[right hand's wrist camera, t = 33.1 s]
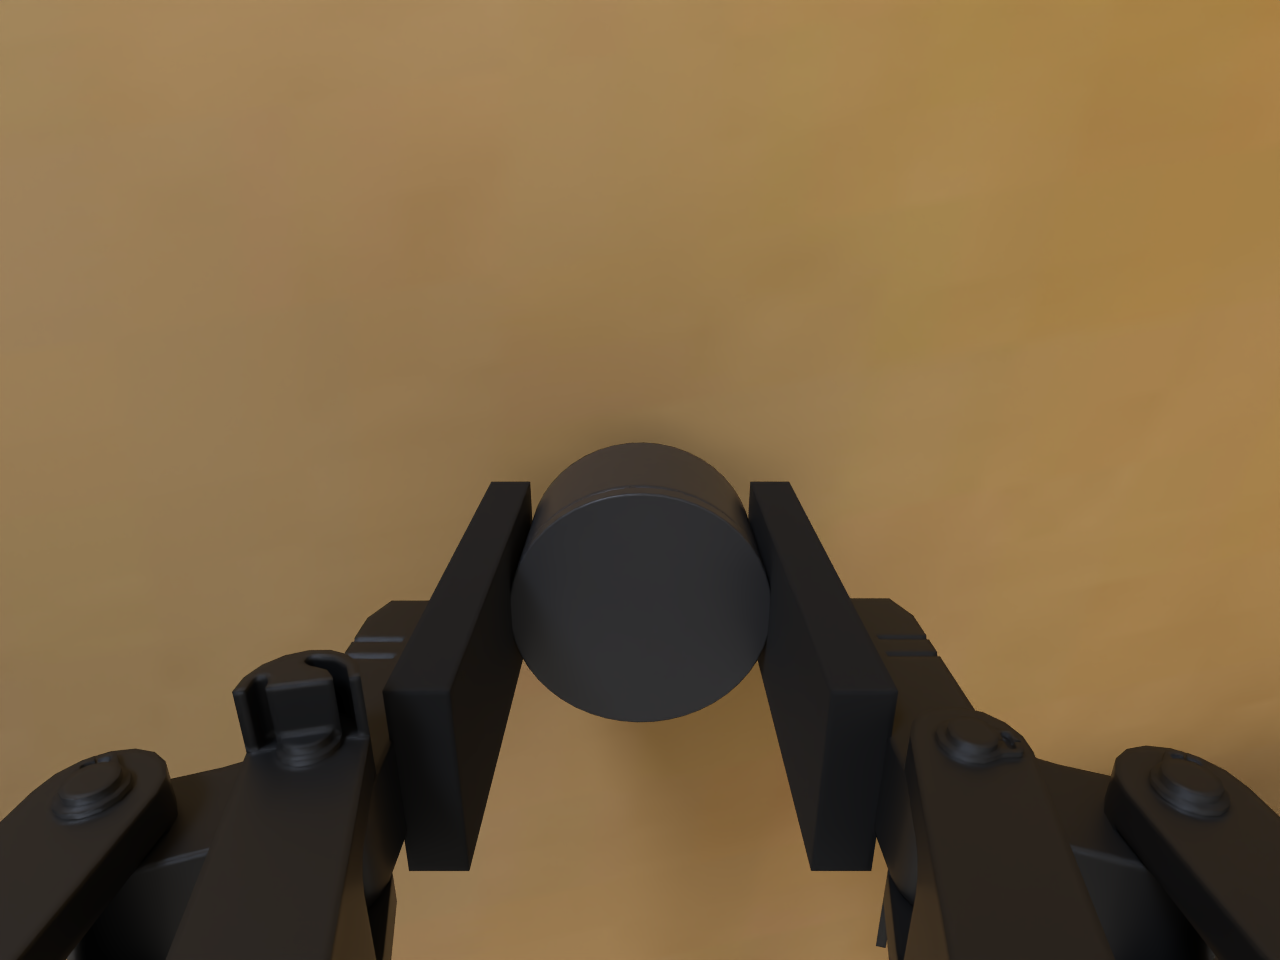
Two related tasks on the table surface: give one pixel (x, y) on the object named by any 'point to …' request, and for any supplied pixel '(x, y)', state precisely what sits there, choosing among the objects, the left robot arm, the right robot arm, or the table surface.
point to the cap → (640, 585)
